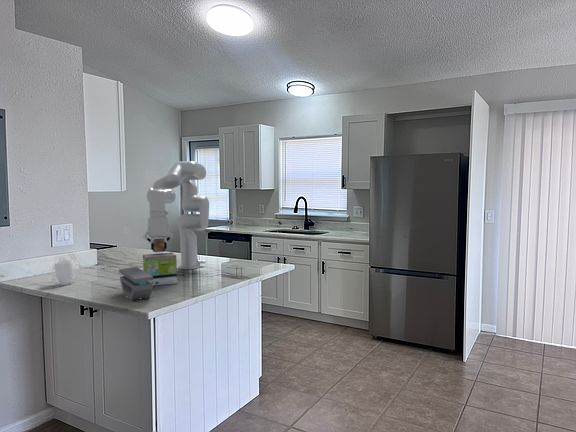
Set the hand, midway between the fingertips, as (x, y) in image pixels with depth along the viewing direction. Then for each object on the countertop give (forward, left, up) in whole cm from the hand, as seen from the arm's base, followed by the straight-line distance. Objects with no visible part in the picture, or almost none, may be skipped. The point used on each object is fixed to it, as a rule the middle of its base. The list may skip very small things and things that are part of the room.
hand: (159, 250), depth 222 cm
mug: (+44, -16, -17) cm, 50 cm away
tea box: (0, 0, -17) cm, 17 cm away
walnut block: (0, 0, 0) cm, 0 cm away
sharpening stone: (+11, +22, -17) cm, 30 cm away
